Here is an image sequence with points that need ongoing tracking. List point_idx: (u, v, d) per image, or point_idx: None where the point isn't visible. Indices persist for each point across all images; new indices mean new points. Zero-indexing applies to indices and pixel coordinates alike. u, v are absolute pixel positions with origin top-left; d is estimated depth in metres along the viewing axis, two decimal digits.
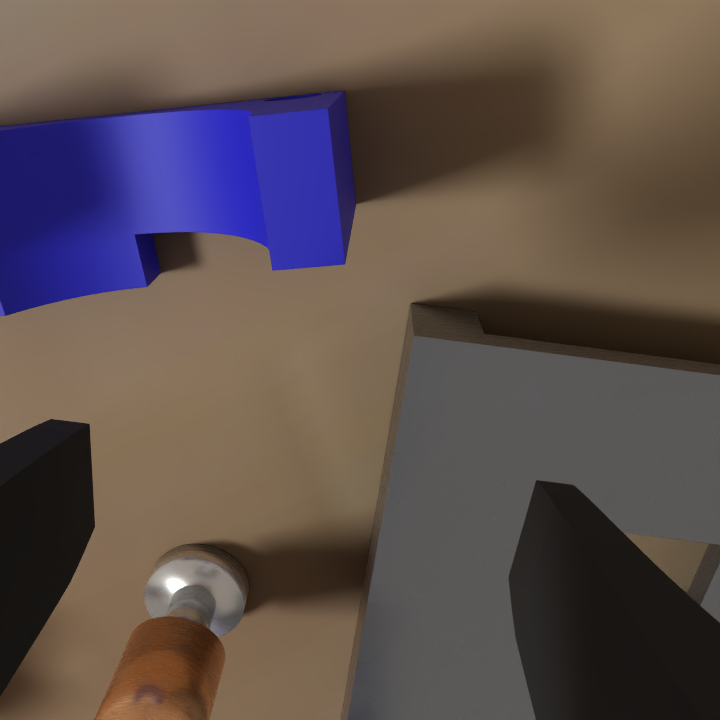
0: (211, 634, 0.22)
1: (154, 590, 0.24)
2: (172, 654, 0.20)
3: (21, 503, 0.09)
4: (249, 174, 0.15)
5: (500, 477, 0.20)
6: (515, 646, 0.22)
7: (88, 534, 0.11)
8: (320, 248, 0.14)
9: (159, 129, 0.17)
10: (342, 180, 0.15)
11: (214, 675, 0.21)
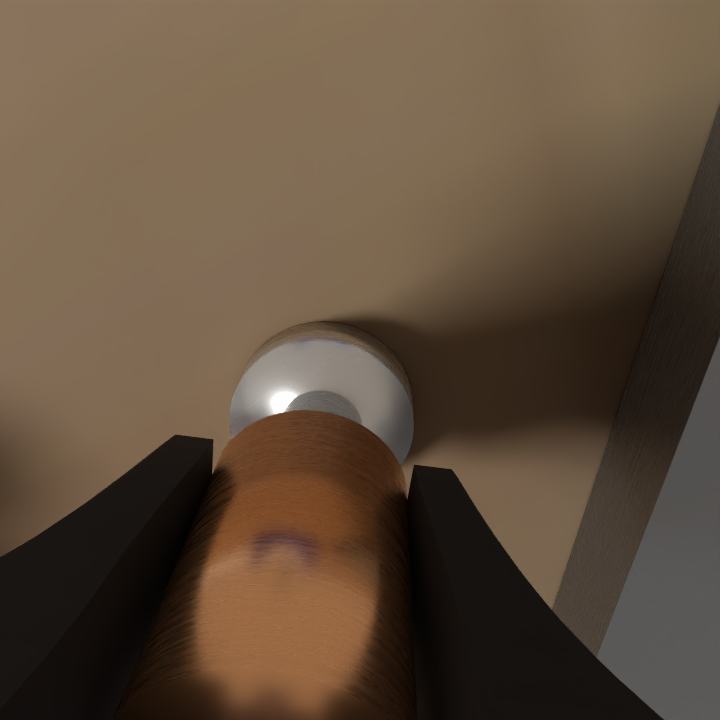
0: (387, 449, 0.11)
1: (249, 401, 0.13)
2: (328, 466, 0.09)
3: (171, 521, 0.09)
4: None
5: None
6: None
7: None
8: None
9: None
10: None
11: (406, 523, 0.10)
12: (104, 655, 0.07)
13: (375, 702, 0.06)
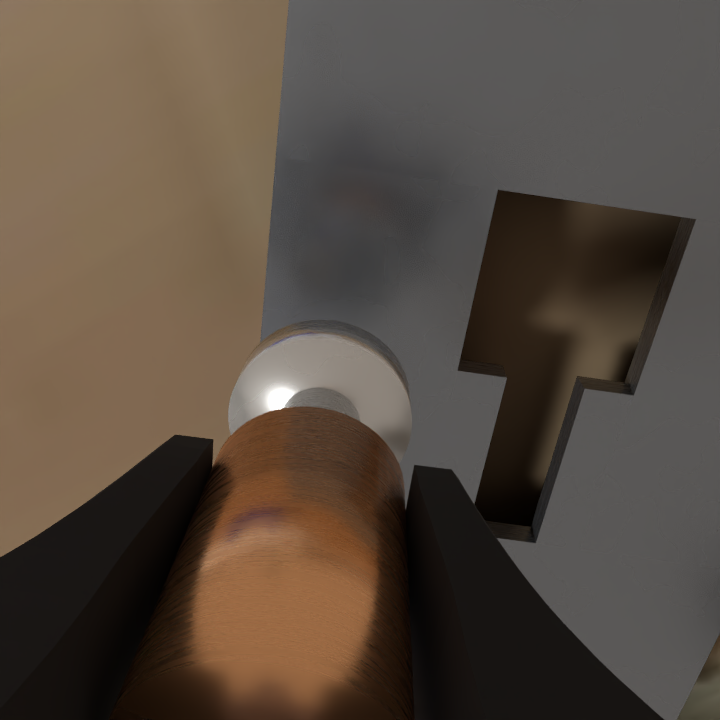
0: (387, 448, 0.11)
1: (249, 396, 0.13)
2: (329, 462, 0.09)
3: (171, 521, 0.09)
4: None
5: (416, 114, 0.16)
6: (443, 374, 0.19)
7: None
8: None
9: None
10: None
11: (404, 521, 0.10)
12: (104, 655, 0.07)
13: (374, 696, 0.06)
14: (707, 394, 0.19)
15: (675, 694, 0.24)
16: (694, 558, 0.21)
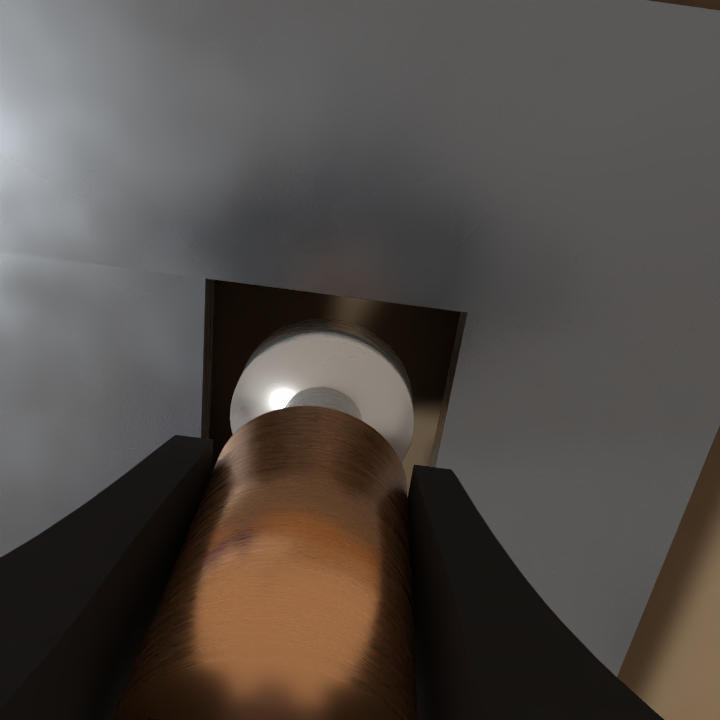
0: (390, 448, 0.11)
1: (251, 395, 0.13)
2: (333, 462, 0.09)
3: (170, 521, 0.09)
4: None
5: (80, 185, 0.12)
6: None
7: None
8: None
9: None
10: None
11: (407, 521, 0.10)
12: (104, 655, 0.07)
13: (380, 696, 0.06)
14: (516, 520, 0.15)
15: None
16: None
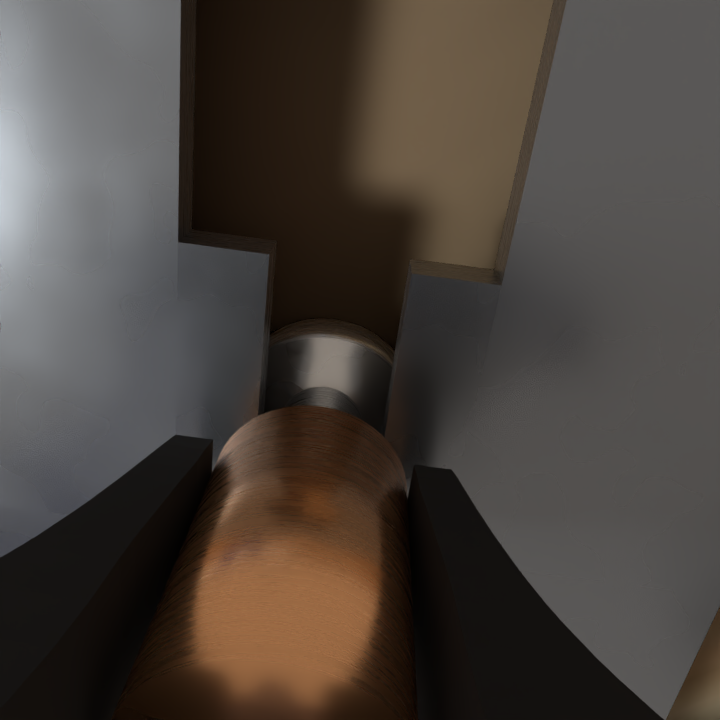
0: (390, 447, 0.11)
1: None
2: (333, 461, 0.09)
3: (171, 521, 0.09)
4: None
5: None
6: (153, 249, 0.10)
7: None
8: None
9: None
10: None
11: (407, 521, 0.10)
12: (104, 655, 0.07)
13: (380, 695, 0.06)
14: (635, 281, 0.10)
15: None
16: (630, 574, 0.13)
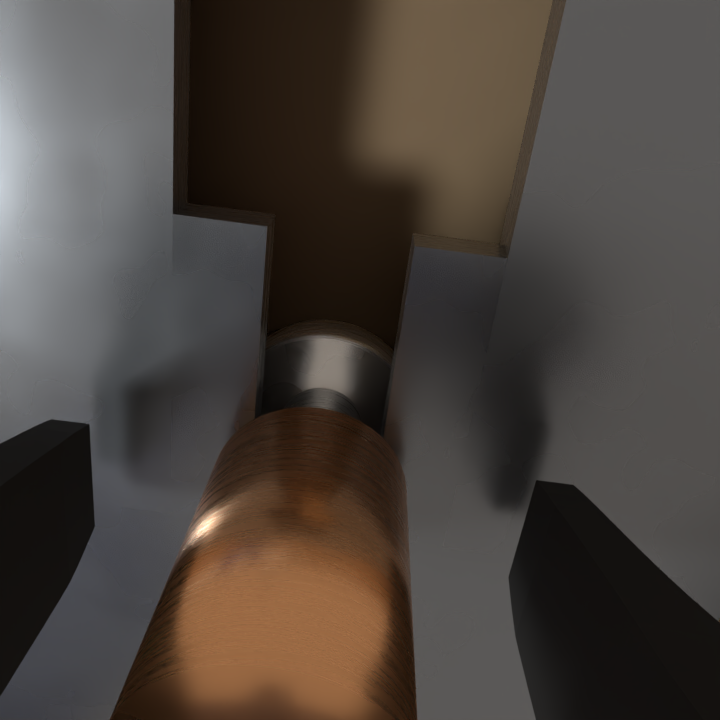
0: (389, 449, 0.11)
1: None
2: (331, 464, 0.09)
3: (21, 503, 0.09)
4: None
5: None
6: (148, 221, 0.10)
7: (88, 534, 0.11)
8: None
9: None
10: None
11: (407, 524, 0.10)
12: None
13: (379, 701, 0.06)
14: (646, 254, 0.10)
15: None
16: None
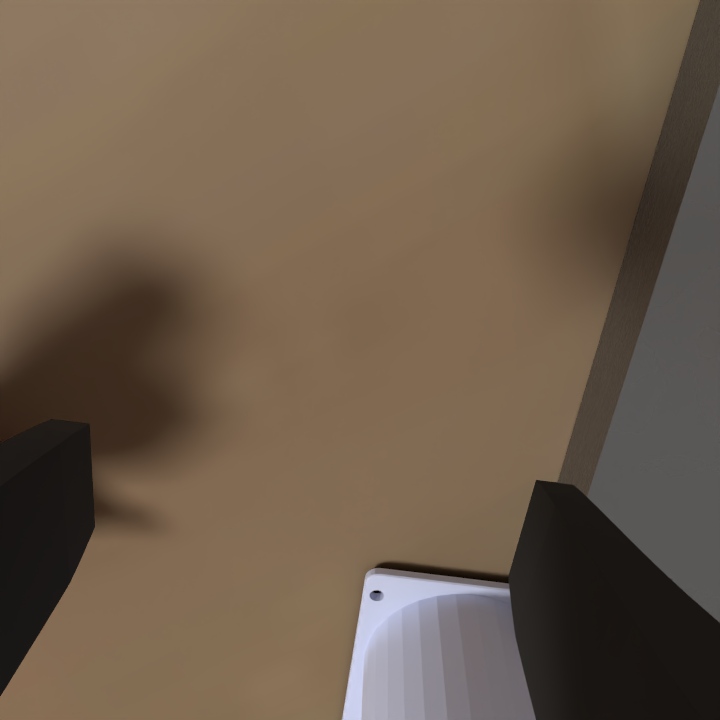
0: None
1: None
2: None
3: (21, 503, 0.09)
4: None
5: None
6: None
7: (88, 534, 0.11)
8: None
9: None
10: None
11: None
12: None
13: None
14: None
15: None
16: None
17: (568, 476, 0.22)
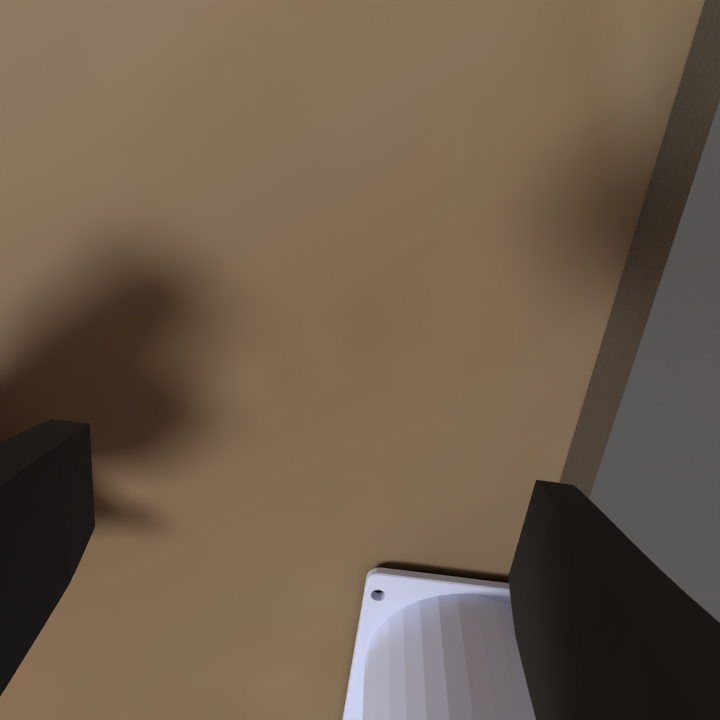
0: None
1: None
2: None
3: (21, 503, 0.09)
4: None
5: None
6: None
7: (88, 534, 0.11)
8: None
9: None
10: None
11: None
12: None
13: None
14: None
15: None
16: None
17: (570, 477, 0.22)
